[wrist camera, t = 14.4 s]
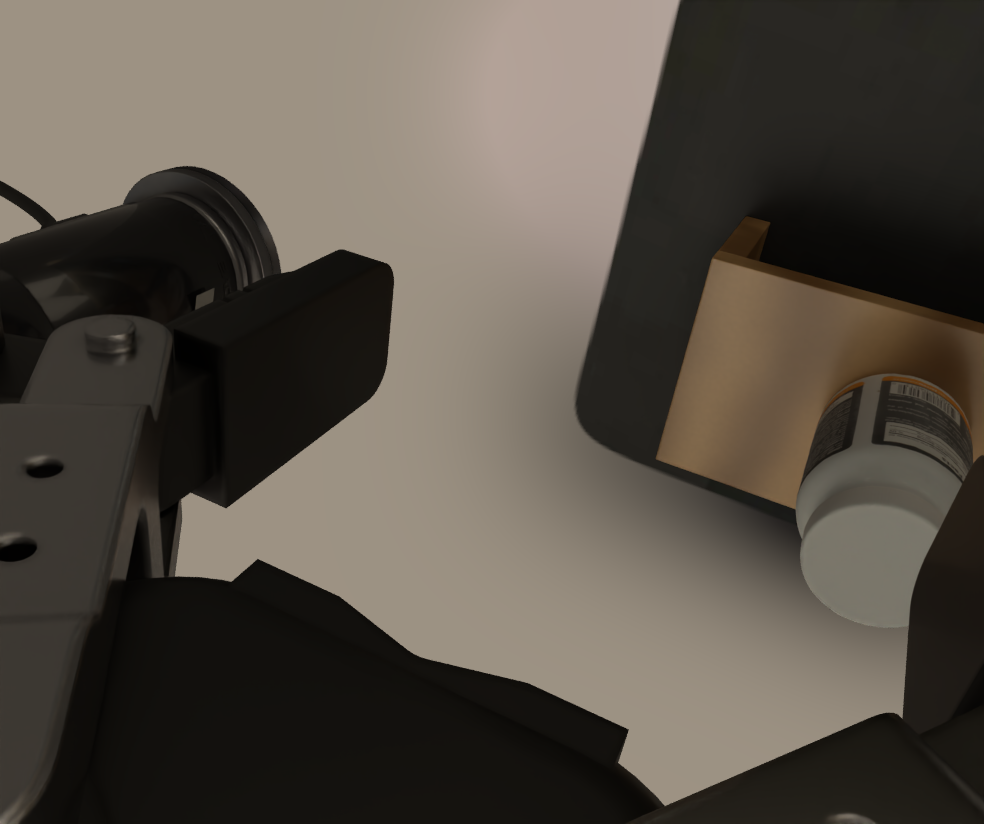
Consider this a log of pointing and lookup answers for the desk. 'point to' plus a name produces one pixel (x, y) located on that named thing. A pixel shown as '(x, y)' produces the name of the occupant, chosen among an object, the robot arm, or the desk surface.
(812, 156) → the desk surface
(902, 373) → the shelf
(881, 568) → the pill bottle
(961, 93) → the desk surface
